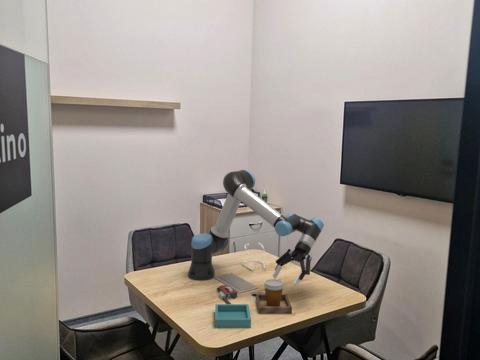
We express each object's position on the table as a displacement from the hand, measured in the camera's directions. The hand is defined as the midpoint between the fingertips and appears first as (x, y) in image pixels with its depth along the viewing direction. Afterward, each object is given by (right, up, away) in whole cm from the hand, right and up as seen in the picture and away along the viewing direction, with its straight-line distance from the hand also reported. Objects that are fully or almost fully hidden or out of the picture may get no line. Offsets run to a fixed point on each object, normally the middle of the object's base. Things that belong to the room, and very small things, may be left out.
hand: (284, 281), depth 200 cm
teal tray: (-25, -13, -16) cm, 33 cm away
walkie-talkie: (-28, -11, +8) cm, 31 cm away
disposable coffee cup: (-6, -12, -2) cm, 13 cm away
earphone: (-13, -5, +54) cm, 56 cm away
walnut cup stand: (-6, -12, -2) cm, 13 cm away
